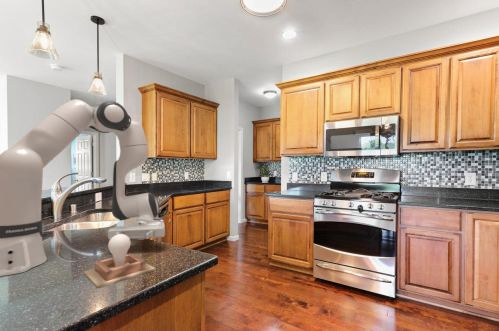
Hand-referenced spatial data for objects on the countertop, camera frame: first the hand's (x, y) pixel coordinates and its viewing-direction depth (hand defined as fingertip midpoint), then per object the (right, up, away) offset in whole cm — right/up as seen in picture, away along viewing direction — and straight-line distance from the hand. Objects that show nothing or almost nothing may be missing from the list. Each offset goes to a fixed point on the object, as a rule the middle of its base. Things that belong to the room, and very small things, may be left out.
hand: (131, 237), depth 88 cm
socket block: (+2, -7, -12) cm, 14 cm away
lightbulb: (+2, -7, -12) cm, 14 cm away
